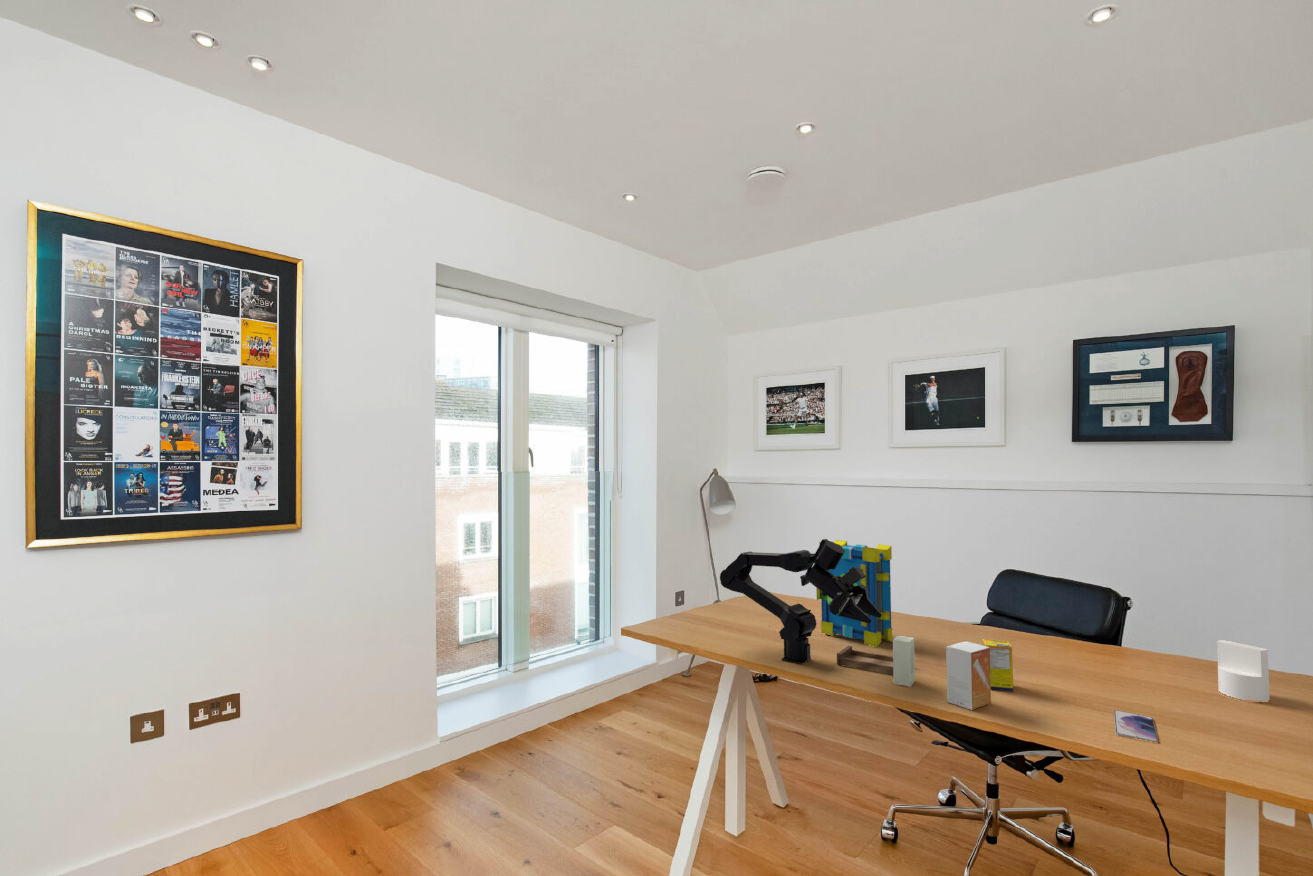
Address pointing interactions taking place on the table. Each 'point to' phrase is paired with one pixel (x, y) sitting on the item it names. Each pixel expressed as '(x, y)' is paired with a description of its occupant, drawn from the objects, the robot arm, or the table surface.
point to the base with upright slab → (1243, 671)
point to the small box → (968, 675)
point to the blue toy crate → (879, 589)
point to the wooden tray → (865, 660)
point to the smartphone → (1134, 726)
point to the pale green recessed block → (903, 660)
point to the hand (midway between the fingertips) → (876, 619)
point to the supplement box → (1000, 664)
